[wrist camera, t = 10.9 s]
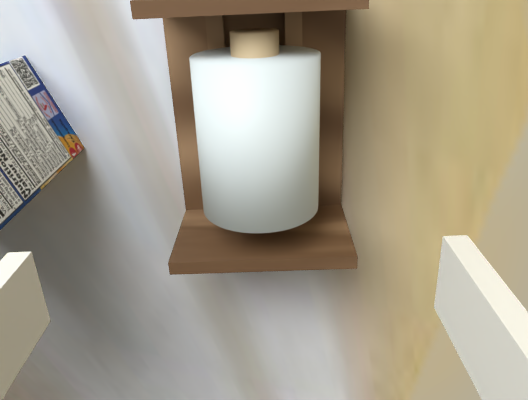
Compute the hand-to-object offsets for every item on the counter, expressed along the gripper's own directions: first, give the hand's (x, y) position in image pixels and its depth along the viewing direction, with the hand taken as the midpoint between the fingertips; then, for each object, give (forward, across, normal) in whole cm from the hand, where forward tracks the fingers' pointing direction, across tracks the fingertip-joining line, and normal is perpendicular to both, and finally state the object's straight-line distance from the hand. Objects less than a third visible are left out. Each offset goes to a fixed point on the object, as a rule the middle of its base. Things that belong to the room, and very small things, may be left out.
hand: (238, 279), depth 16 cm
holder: (+19, -1, -1) cm, 19 cm away
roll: (+17, 0, -1) cm, 17 cm away
